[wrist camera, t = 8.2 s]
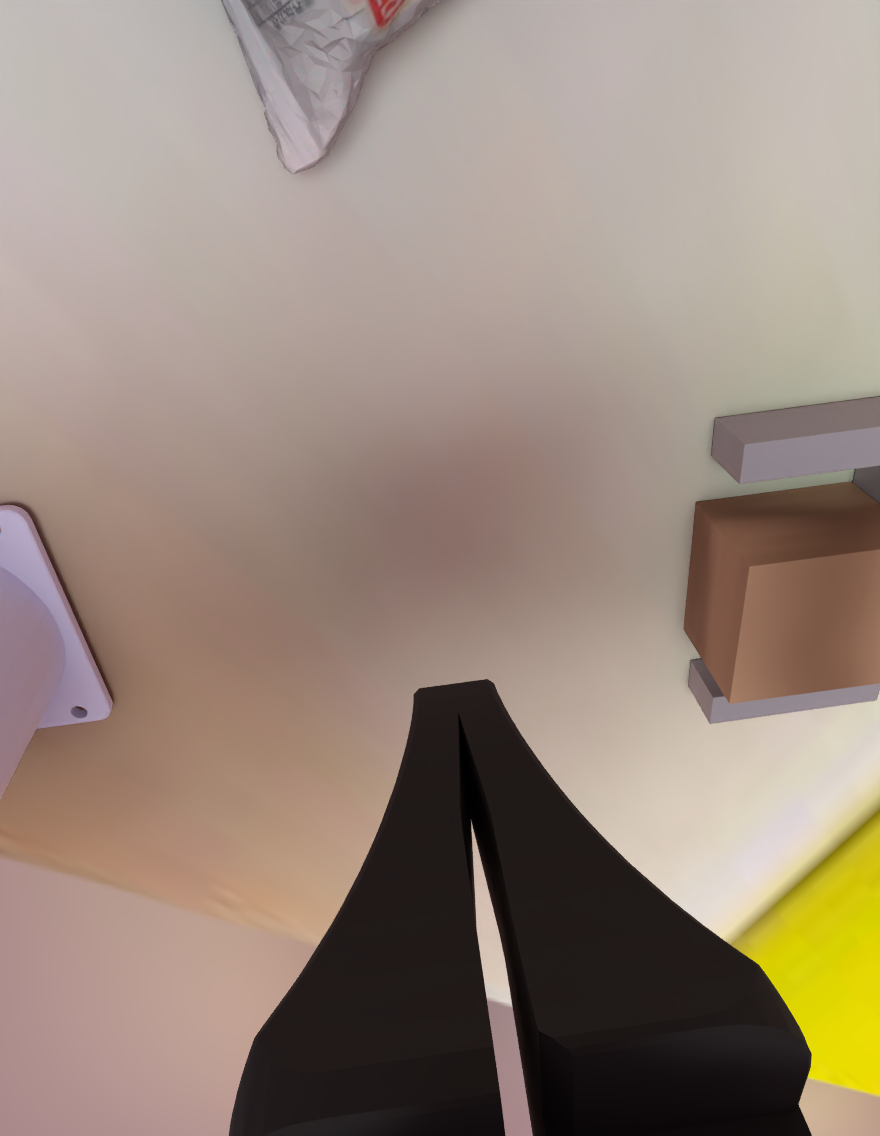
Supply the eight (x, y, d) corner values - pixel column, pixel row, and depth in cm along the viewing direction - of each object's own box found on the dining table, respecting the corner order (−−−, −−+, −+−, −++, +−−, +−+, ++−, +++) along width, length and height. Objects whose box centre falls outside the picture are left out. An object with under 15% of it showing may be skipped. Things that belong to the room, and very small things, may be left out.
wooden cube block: (682, 626, 27) (729, 703, 23) (694, 499, 24) (749, 566, 20) (821, 607, 27) (888, 682, 23) (848, 479, 24) (929, 543, 21)
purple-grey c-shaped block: (688, 685, 28) (710, 723, 26) (715, 418, 22) (744, 444, 21) (845, 663, 28) (876, 700, 26) (910, 392, 22) (955, 416, 21)
